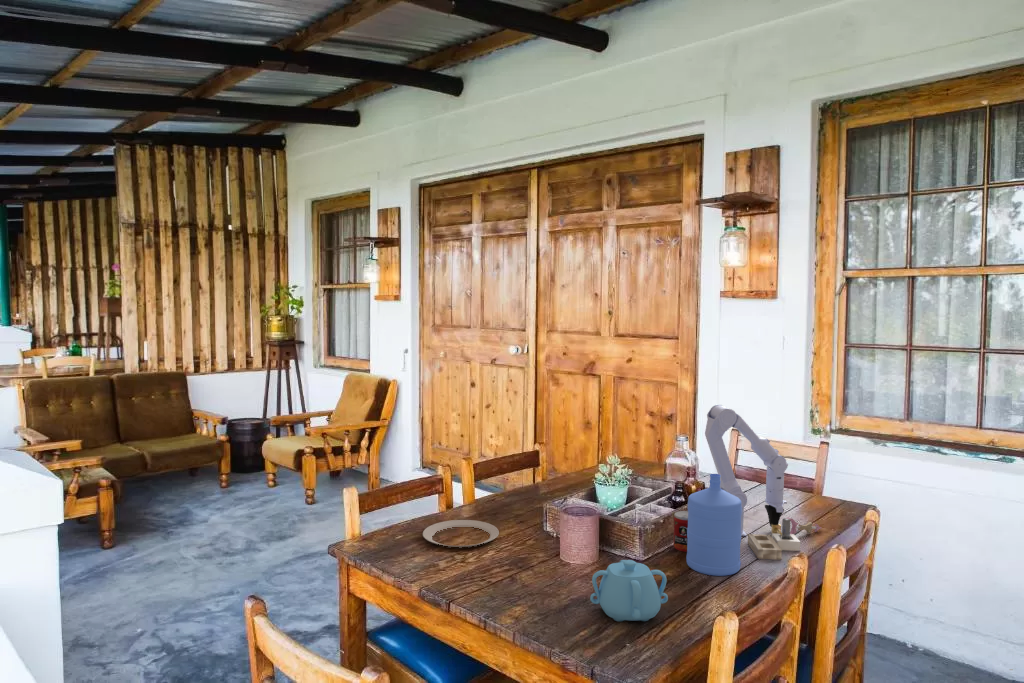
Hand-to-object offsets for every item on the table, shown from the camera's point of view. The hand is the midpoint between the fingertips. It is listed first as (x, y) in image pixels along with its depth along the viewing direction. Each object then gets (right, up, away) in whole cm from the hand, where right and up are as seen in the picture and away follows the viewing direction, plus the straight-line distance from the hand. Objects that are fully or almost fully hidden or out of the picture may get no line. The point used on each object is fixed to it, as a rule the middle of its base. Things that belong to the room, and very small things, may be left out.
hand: (773, 526), depth 240 cm
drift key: (-1, -1, -6) cm, 6 cm away
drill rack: (-10, -3, -19) cm, 21 cm away
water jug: (-30, -4, -32) cm, 44 cm away
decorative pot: (-61, -6, -62) cm, 87 cm away
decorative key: (+9, -2, -4) cm, 9 cm away
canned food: (-34, -3, -16) cm, 38 cm away
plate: (-108, -2, -7) cm, 108 cm away
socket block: (-1, -2, -10) cm, 10 cm away
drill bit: (-2, -3, -15) cm, 15 cm away
